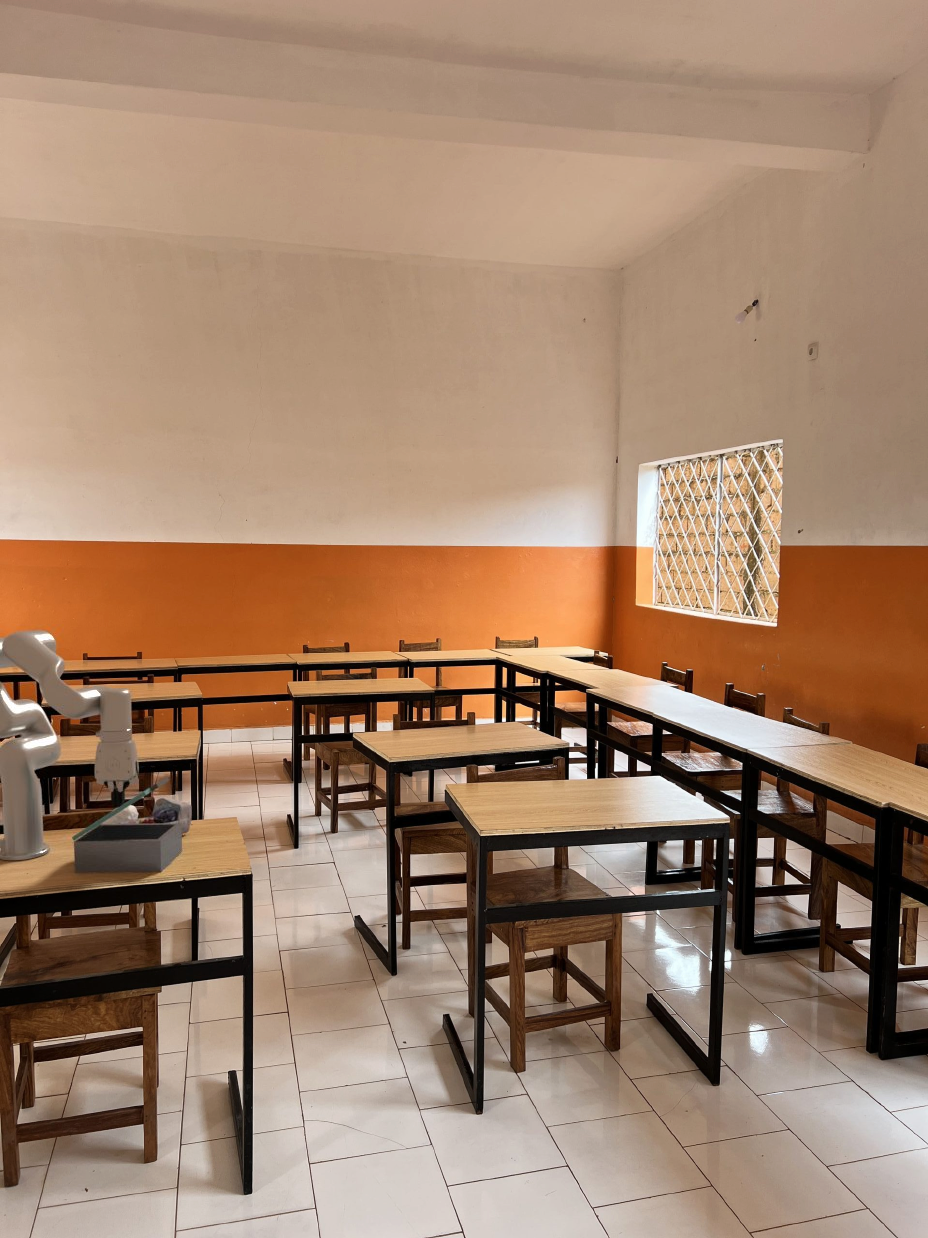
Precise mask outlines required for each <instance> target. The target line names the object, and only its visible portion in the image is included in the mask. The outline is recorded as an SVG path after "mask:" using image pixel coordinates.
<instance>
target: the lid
mask: <svg viewBox="0 0 928 1238" xmlns="http://www.w3.org/2000/svg"><path fill="white" fill-rule="evenodd" d="M169 781H170V779H169V778H168V776H165V777H164V778H162V779H161V780H159V781H157V782H156V783H154V784H153V785H151V786H150V787H148V788H146V789H145V790H144V791H141V793H139V794H137V795H136V796H134V797H133V798H131V799H130V800H128V801H126V802H124V803H123V805H122V806H120V807H116V808H117V809H116V808H114V809H113V810H114V811H113V810H112V811H111V812H108V813H107V814H105V815H104V816H103V817H101V818H100V819H98V820H96V821H95V822H93V823H92V824H90V825H88V826H87V827H85V828H84V829H83V830H81V831H80V832H78V833H76V834H75V835H73V836H72V837H71V838H72V840H73V841H75V840H77V839H78V838H80V837H81V836H83V835H85V834H86V833H88V832H89V831H91V830H92V829H94V828H95V827H97V826H98V825H100V824H101V823H103V822H104V821H106V820H107V819H109V818H111V817H112V816H114V815H115V814H117V813H119V812H120V811H122V810H123V809H125V808H126V807H128V806H130V805H133V804H134V803H136V802H137V801H139V800H141V799H142V798H143V797H145V796H147V795H148V794H150V793H151V792H154V791H156V790H157V789H159V788H161V786H163V785H164V784H166V783H168V782H169Z"/></svg>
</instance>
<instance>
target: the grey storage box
mask: <svg viewBox="0 0 928 1238" xmlns="http://www.w3.org/2000/svg"><path fill="white" fill-rule="evenodd" d="M182 835H183V834H182V831H181V823H154V824H100V825H98V826H96V827H95V828H93V829H92V830H90V831H89V832H87V833H85V834H84V835H82V836H81V837H79V838H77V839H76V840H73V852H74V853H73V855H74V873H75V874H77V873H80V874H82V873H85V874H87V873H88V874H89V873H91V874H92V873H96V874H97V873H162V872H163V871H164V870H166V868H167V867H169V866H170V865H171V863H173V862H172V861H173V860H174V859H175V858H176V857H177V856H178V855H179V854H180V853H181V852H182V853H183V842H182V841H183V838H182V837H183V836H182ZM182 853H181V854H182ZM181 854H180V855H181ZM180 855H179V856H180ZM179 856H178V857H179ZM178 857H177V858H178ZM177 858H176V859H177ZM176 859H175V860H176ZM175 860H174V861H175Z"/></svg>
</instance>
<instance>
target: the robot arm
mask: <svg viewBox="0 0 928 1238" xmlns="http://www.w3.org/2000/svg"><path fill="white" fill-rule="evenodd" d="M56 651H57V641H56V639H55V638H54V636H53V635H52V634H51V633H50V632H47V631H46V630H43V629H42V630H41V629H36V630H35V629H34V630H22V631H17V632H13V633H10V634H9V635H8V636H5V637H0V669H6V668H13V667H17V668H19V669H20V670H21V671H23V672H24V673H25V674H27V675H28V676H29V677H31V678H32V679H33V680H35V681H36V682H37V683H38V684H39V690H40V694H41V696H42V698H43V699H44V701H45V702H46V704H48V705H49V706H50V707H51V708H52V709H53V710H55V711H57V713H59V714H60V715H62V716H64V717H66V718H68V719H71V720H79V719H84V718H88V717H93V716H98V715H100V730H98V731H96V732H95V737H97V738H99V740H100V741H98V742H97V744H96V745H97V746H96V750H95V757H94V758H95V760H94V778H95V780H96V784H97V785H102V786H105V787H106V788H107V790H108V791H109V792H110V802H111V804H112V808H118V807H120V806H122V805H123V804H125V803H126V802H125V800H126V797H125V796H126V795H125V794H126V792H125V791H126V790H127V788H128V787H129V786H131V785H136V784H138V783H140V782H139V781H140V780H139V772H140V771H139V770H140V769H139V768H140V767H139V758H138V757H139V755H138V750H137V746H136V742H135V740H134V739H133V729H132V727H133V724H132V723H133V722H132V693H131V691H130V690H129V689H127V688H121V687H115V688H110V687H106V686H102V685H97V686H96V685H95V686H89V687H88V686H87V687H83V688H78V689H77V688H76V689H74V688H72V687H71V686H69V685H68V684H67V683H65V682H64V681H63V680H62V679H61V676H62V675H63V673H64V672H65V668H66V662H65V660H64V658H62V657H61V656H60V655H58V654H57V653H56ZM18 735H21V737H16V738H13V739H10V740H7V741H6V742H4V743H3V744H2V745H1V746H0V783H1V794H2V795H1V797H2V798H1V799H2V815H3V816H2V817H3V818H2V819H3V838H0V859H1V860H2V861H4V860H5V861H23V860H31V859H35V858H37V857H41V856H43V855H46V854H47V853H49V852H50V850H51V846H50V845H49V843H48V844H47V843H44V823H43V798H42V797H43V795H42V787H41V786H42V785H41V782H40V780H39V778H38V776H37V774H36V773H35V771H36V770H39V769H43V768H45V767H49V766H52V765H53V764H55V763H56V762H57V761H58V760H59V759H60V757H61V754H62V747H61V743H60V740H59V737H58V736H57V734H56V731H55V730H54V728H53V726H52V724H51V722H50V720H49V718H48V716H47V714H46V712H45V711H44V709H43V708H42V706H41V705H40V704H39V703H37V701H34V700H32V699H28V698H22V699H16V700H15V699H12V698H11V696H10V694H9V693H8V692H7V689H6V687H5V685H4V684H3V683H2V682H1V681H0V739H6V738H10V737H13V736H18ZM117 782H118V783H117Z"/></svg>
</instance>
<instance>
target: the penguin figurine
mask: <svg viewBox="0 0 928 1238" xmlns="http://www.w3.org/2000/svg"><path fill="white" fill-rule="evenodd" d="M117 808H118V807H115V809H117ZM115 809H113V810H112V811H114V810H115ZM134 819H139V812H138V810H137V807H136V806H134V805H133V804H131V805H130V806H128V807H126V808H125V809H123V810H122V811H120V812H119V813H117V814H115V815H114V816H112V817H111V818H109V819H107V820H106V821H104V822H103V823H101V824H119V823H120V822H125V821H130V820H134Z"/></svg>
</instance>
